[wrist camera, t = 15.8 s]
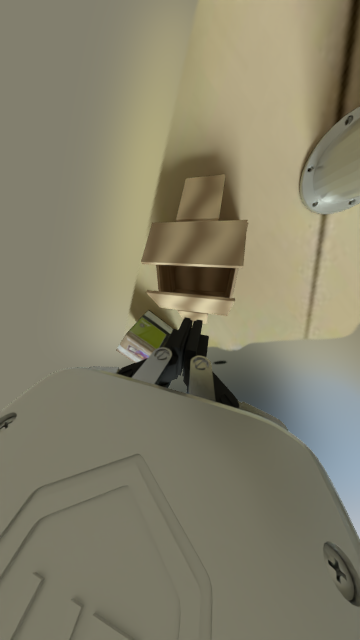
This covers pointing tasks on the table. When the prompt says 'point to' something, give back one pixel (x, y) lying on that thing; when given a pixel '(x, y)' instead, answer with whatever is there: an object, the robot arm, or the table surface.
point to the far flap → (192, 304)
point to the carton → (197, 280)
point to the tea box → (144, 337)
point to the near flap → (198, 230)
